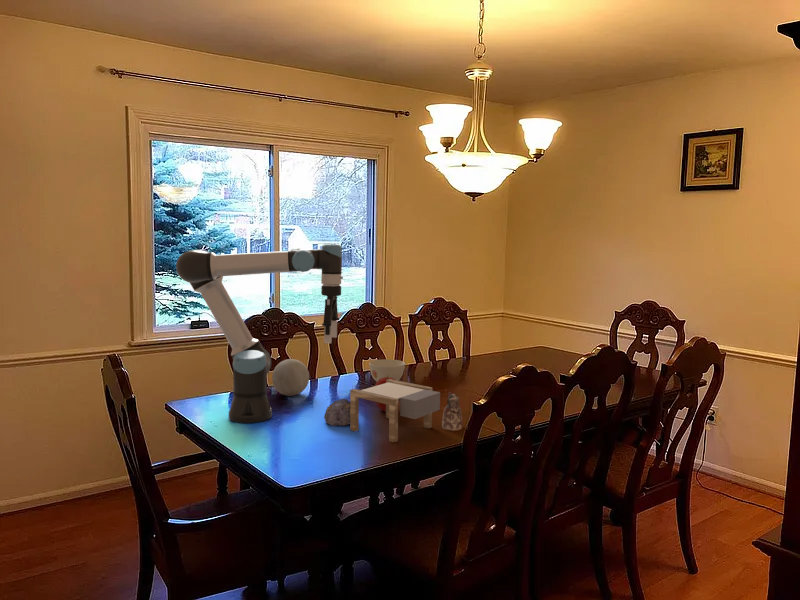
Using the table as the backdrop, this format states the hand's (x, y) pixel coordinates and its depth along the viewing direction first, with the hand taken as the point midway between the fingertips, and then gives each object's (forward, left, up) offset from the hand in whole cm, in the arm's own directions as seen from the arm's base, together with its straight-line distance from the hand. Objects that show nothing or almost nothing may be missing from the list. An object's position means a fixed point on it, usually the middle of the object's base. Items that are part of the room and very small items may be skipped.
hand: (330, 340), depth 238 cm
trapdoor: (-7, -40, -18) cm, 44 cm away
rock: (-14, -18, -26) cm, 34 cm away
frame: (-7, -36, -26) cm, 45 cm away
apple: (+9, -21, -26) cm, 35 cm away
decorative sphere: (0, +23, -26) cm, 35 cm away
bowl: (+39, +4, -26) cm, 47 cm away
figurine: (+8, -51, -26) cm, 58 cm away
